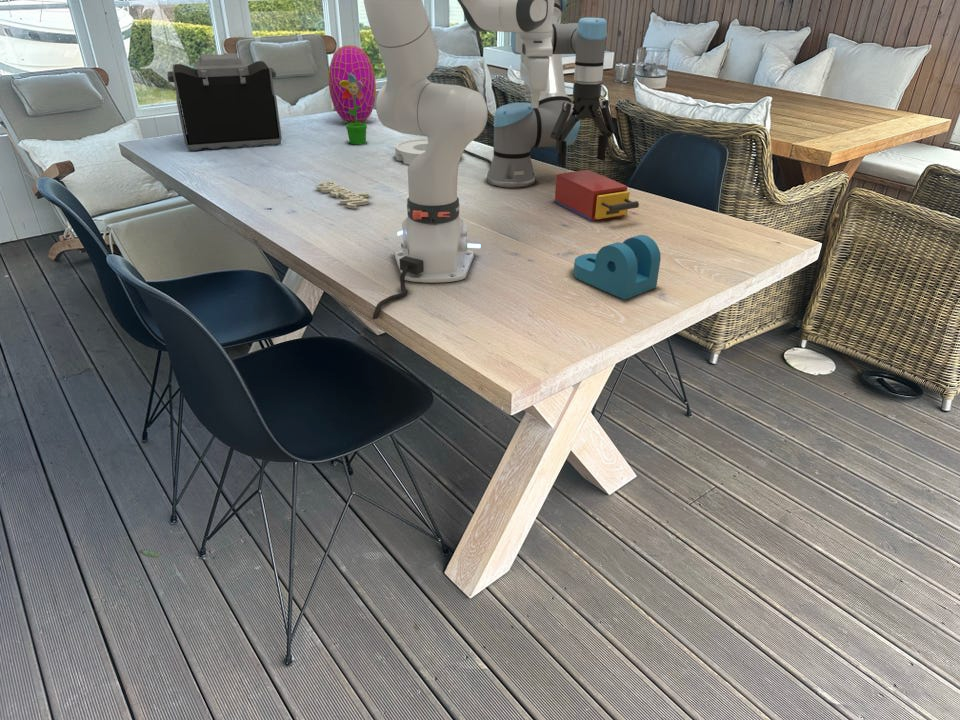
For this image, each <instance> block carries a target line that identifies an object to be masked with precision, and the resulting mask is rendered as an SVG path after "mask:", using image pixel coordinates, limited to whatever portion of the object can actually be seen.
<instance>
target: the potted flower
mask: <svg viewBox="0 0 960 720" xmlns="http://www.w3.org/2000/svg"><path fill="white" fill-rule="evenodd" d="M348 78H349V81H346V80H342V81H341V82H340V83H339V84H340V85H341V86H342V87H343V88H346V89H347V90H345V91H344V93H343V94H342V97H341V99H348V98H350V97H351V96H352V95H353V100H354V110H349V111H348V112H349V114H351V115H355V123H349V122H348V123H347V124H346V125H345V128H346V131H347V136H348V141H349V144H352V145H363V144H366V143H367V129H368V124H367V123H366V122H365V123H364V122H361V123H357V116H356V110H358V109H359V106H356V103H355V95H356V97H357V98H358V99H359V100H362V98H363V93H362V92H361V91H360V90H361V89H363V84H362V82H361V81H358V82H357V83H356V78H355V76H354V75H352V74H350V73H348Z"/></svg>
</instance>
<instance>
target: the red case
mask: <svg viewBox="0 0 960 720" xmlns="http://www.w3.org/2000/svg"><path fill="white" fill-rule="evenodd" d="M554 189H555V191H554V203H555V204H557V205H559V206H561V207H563V208H564V209H567V210H569V211H571V212H572V213H574V214H576V215H578V216H580V217H582V218H584V219H586V220H588V221H589V222H594V221H600V220H607V219H612V218H616V217H617V218H618V217H622V216H623V217H624V216H625V215H620V216H614V217H608V218H602V219H596V218H595V207H596V197H597V195H598V194H604V193H611V192H617V191H620V192H624V191H628V185H626V184H623V183H621V182H618V181H616V180H614V179H611V178H609V177H607V176H604V175H602V174H600V173H598V172H595V171H593V170H590V169H585V170H584V169H583V170H576V171H569V172H562V173H556V175H555V188H554Z"/></svg>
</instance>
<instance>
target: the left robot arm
mask: <svg viewBox="0 0 960 720" xmlns="http://www.w3.org/2000/svg"><path fill="white" fill-rule="evenodd" d="M456 1H457V2H458V3H459V5H460V7H461V9H462V12H463V15H464V18H465V20H466V22H467V24H468V25H469V26H470V28H471V29H472V30H473V31H475V32H498V33H511V32H515V33H516V52H518V53H521V55H520V65H519V66H520V68H519V76H520V79H521V80H522V81H523V82H524V83H523V86H524V99H525V101H527V102H528V101H530V104H531V107H532V108H538V107H539V98H540V94H541V91H545V89H546V86H547V80H548V72H549V63H550V58H549V57H551V56H552V53H553V47H552V36H553V27H552V15H553V12H554V0H456ZM363 4H364V10H365V14H366V18H367V22H368V24H369V27H370V30H371V34H372V36H373V39H374V42H375V44H376V47H377V49H378V51H379V54H380V57H381V60H382V63H383V65H384V68H385V72H386V82H385V84H383V86H381V88H380V89H379V91H378V92H377V95H376V98H375V112H376V116H377V118H378V120H379V122H380V124H381V125H382V126H383V127H385V128H387V129H390V130H393V131H395V132H397V133H401V134H403V135H411V136H419V137H426V139H428V145H427V149H426V152H423V153H421V154H419V155H418V156H416V157H415V158H414V159H413V160H412V161H411V162H410V164H409V165H408V168H407V184H408V186H407V187H408V198H407V199H406V211H407V213H406V214H407V217H406V218H405V219H404V220H403V221H402V223H401V230H400V231H398V232H397V236H400V235H402V242H401V244H400V247H401V249H400V250H397V251H395V252H394V259H395V262H396V264H397V267H398V269H399V272H400V276H399V284H400V289H401V291H402V292H400V293H396V294H392V295H389V296H388V297H386V298H383V299H382V300H381V301H379V302H378V303H377V304H376V306H375V309H374V312H373V315H372V320H378V318H379V315H380V311H381V309H382V308H383V306H384V305H387V304H388V303H390V302H392V301H395V300H398V299H402V298H404V297H406V295H407V294H408V289H407V288H406V281H408V282H414V283H431V284H433V283H435V284H437V283H451V282H457V281H461V280H464V279H466V277H467V274H468V273H469V269H470V267H471V265H472V262H473V260H474V257H475V251H473V250H471V248H472V249H481V244H480V243H468V242H467V241H466V238H467V236H468V232H467V231H466V221H465V220H464V219H463V218H461V216H460V208H461V207H460V206H461V205H460V198H459V197H458V175H459V166H460V161H461V159H460V158H462V155H463V154H464V153H465V152H464V150H466V148H467V147H468V146H469V144H470V143H471V142H472V141H474V140H476V139H477V138H478V137H479V136H480V135H481V134H482V133H483V131H484V130H485V127H486V126H487V122H488V116H489V115H488V114H489V113H488V105H487V102H486V100H485V98H484V96H483V94H481V92H479V91H477V90H474V89H472V88H468V87H465V86H463V85H459V84H458V85H456V84H455V85H454V84H446V83H436V82H432V81H430V80H429V79H428V77H429V76H430V75H432V73H433V72H434V71H435V70H436V68H437V65H438V64H439V63H438V62H439V57H440V50H439V47H438V44H437V40H436V37H435V35H434V32H433V28H432V25H431V22H430V18H429V16H428V13H427V10H426V7H425V5H424V2H423V0H363ZM468 248H469V249H468Z"/></svg>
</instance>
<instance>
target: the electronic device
mask: <svg viewBox="0 0 960 720" xmlns="http://www.w3.org/2000/svg"><path fill="white" fill-rule="evenodd" d="M195 67H196V68H193V67H192V66H187V65H185V64H182V63H176V64H175V63H173V64H172V70H171V71H167V72H166V73H167V74H166V75H167V81H168V83H173V84H174V90H175V94H176V96H175V97H176V98H175V99H176V106H177V111H178V116H179V121H180V126H181V130H182V134H183V136H182V137H183V141H184V145H185V147H186V149H187V150H188V151H192V152H197V151H199V152H200V151H201V150H203V149H210V150H219V149H221V148H225V147H227V148H230V149H237V148H241V147H243V146H249V147H260V146H261V145H269V146H278V145H279V144H281V143H282V138H283V137H282V130H281V122H280V115H279V108H278V99H277V96H276V94H275V88H274V81H273V80H274V78H277V72H276V70H275V69H274V68H273V67H270V66H268V64H267V63H266V62H265V61H264V60H259V61H257V60H256V61H254V62H253V63H251V64H249V65H247V63H246V62H245V61H244V59H241V58H240V57H239V56H238V54H237V53H236V52H228V53H227V52H225V53H223V54H214V53H200V55H199V59H198V60H196V61H195Z"/></svg>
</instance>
